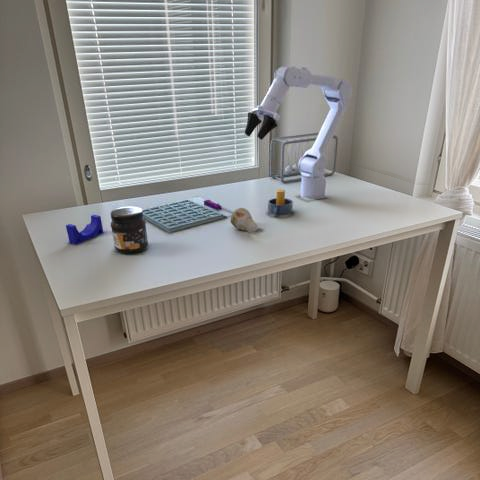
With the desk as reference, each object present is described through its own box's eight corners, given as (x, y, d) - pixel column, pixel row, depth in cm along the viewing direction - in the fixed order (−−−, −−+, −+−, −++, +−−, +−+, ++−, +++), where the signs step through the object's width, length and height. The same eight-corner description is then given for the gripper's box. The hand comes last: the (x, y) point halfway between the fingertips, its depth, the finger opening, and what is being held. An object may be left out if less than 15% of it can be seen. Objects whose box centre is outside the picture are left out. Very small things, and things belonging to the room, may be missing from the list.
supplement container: (110, 255, 140) (104, 217, 134) (120, 241, 149) (114, 205, 143) (144, 255, 140) (139, 217, 133) (152, 242, 149) (147, 205, 142)
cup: (271, 208, 176) (271, 197, 173) (294, 210, 173) (295, 199, 171) (263, 218, 166) (263, 206, 164) (287, 221, 164) (288, 208, 161)
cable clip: (94, 230, 158) (91, 213, 155) (103, 232, 156) (100, 215, 153) (66, 242, 150) (62, 224, 147) (75, 244, 148) (72, 227, 145)
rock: (249, 238, 151) (235, 210, 148) (237, 241, 160) (224, 215, 157) (266, 228, 153) (253, 200, 151) (254, 232, 162) (241, 206, 160)
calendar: (133, 212, 175) (132, 206, 173) (196, 197, 189) (196, 191, 188) (169, 232, 156) (168, 225, 155) (236, 214, 170) (236, 208, 169)
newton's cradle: (321, 170, 224) (324, 131, 215) (335, 175, 217) (338, 135, 207) (269, 178, 213) (270, 138, 203) (281, 183, 205) (282, 142, 196)
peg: (281, 209, 172) (282, 189, 168) (285, 211, 170) (286, 191, 166) (274, 210, 171) (275, 190, 167) (278, 212, 169) (279, 192, 165)
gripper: (253, 91, 161) (233, 127, 162) (278, 95, 150) (258, 133, 152) (265, 104, 165) (246, 138, 167) (291, 108, 155) (271, 144, 157)
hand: (252, 136), depth 160 cm, fingers open, 7 cm apart
